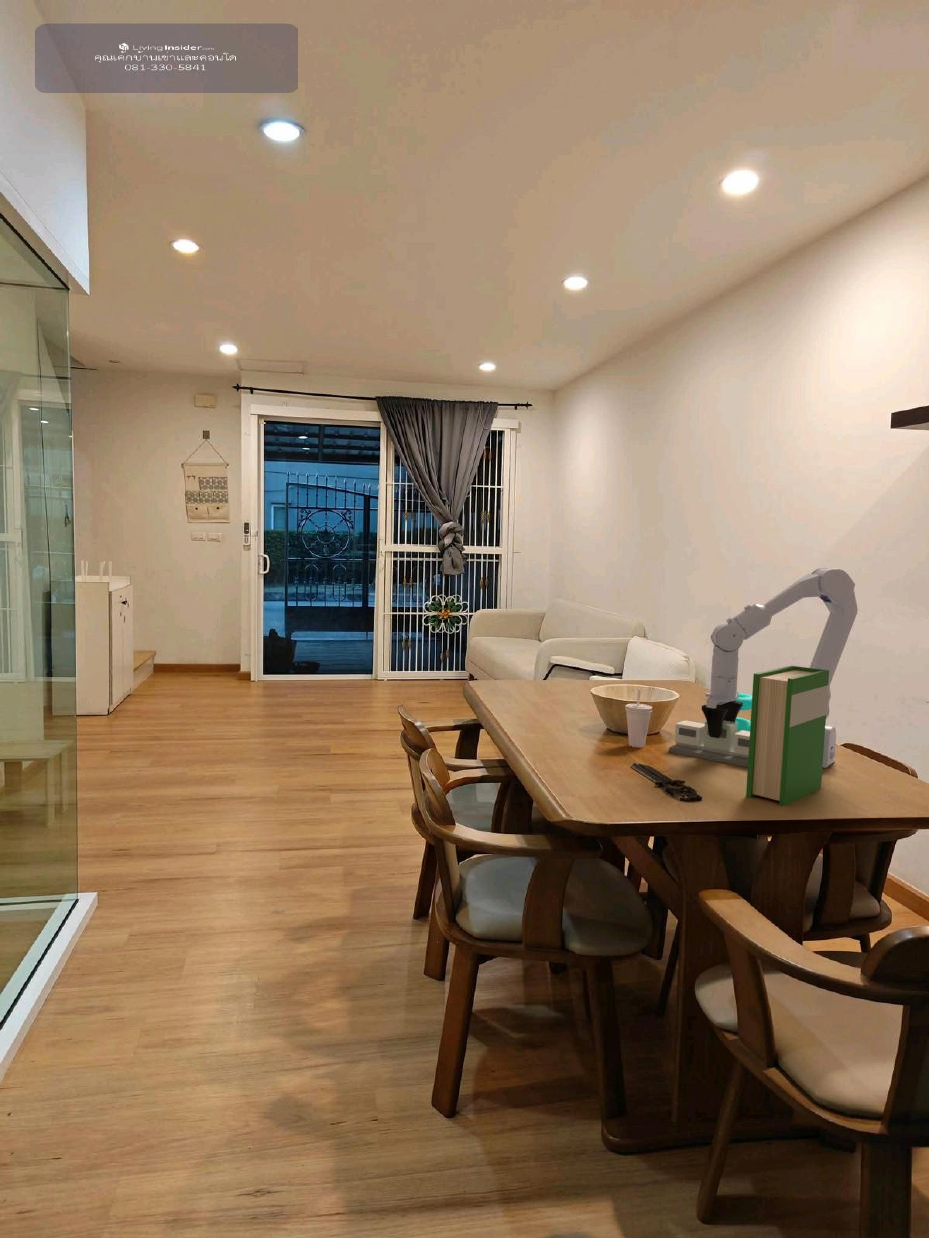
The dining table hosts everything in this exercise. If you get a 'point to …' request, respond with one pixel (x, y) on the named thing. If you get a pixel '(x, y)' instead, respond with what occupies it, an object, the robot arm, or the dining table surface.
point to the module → (721, 737)
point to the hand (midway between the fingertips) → (720, 734)
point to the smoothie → (638, 722)
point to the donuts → (747, 705)
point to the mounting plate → (692, 742)
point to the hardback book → (787, 733)
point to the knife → (666, 781)
